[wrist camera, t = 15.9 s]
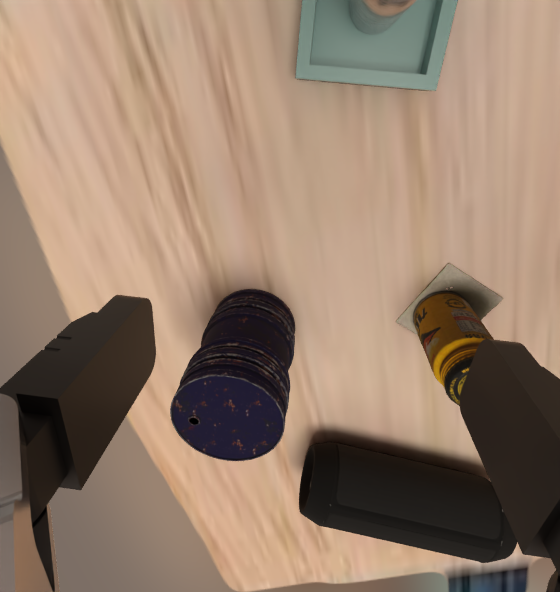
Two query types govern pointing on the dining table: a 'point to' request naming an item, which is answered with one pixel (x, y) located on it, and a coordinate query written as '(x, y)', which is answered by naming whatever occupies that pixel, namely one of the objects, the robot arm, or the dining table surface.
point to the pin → (377, 14)
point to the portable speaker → (404, 502)
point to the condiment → (451, 325)
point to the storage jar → (238, 379)
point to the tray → (374, 46)
